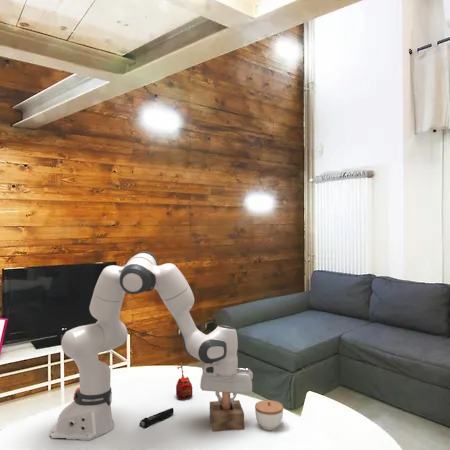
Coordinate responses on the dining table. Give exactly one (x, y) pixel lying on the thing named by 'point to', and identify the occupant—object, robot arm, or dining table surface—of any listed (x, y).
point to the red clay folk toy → (183, 387)
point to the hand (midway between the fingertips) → (226, 403)
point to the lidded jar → (269, 414)
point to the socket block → (226, 416)
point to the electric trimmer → (156, 418)
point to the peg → (225, 401)
